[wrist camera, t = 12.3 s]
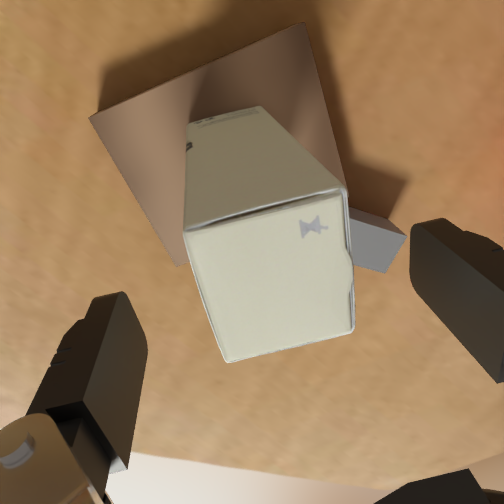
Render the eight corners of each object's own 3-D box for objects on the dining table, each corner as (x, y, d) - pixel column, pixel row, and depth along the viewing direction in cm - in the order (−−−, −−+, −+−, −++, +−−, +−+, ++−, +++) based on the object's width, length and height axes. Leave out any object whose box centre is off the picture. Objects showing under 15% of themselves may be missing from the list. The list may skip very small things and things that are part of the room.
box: (184, 121, 20) (169, 218, 9) (263, 103, 20) (351, 174, 9) (209, 210, 22) (222, 372, 11) (279, 193, 22) (361, 338, 11)
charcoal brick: (386, 218, 27) (407, 236, 24) (367, 252, 28) (385, 273, 26) (314, 194, 25) (328, 211, 23) (297, 232, 26) (308, 252, 24)
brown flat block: (295, 24, 20) (304, 22, 18) (338, 186, 25) (349, 196, 23) (97, 112, 21) (88, 118, 19) (177, 252, 26) (176, 267, 24)
